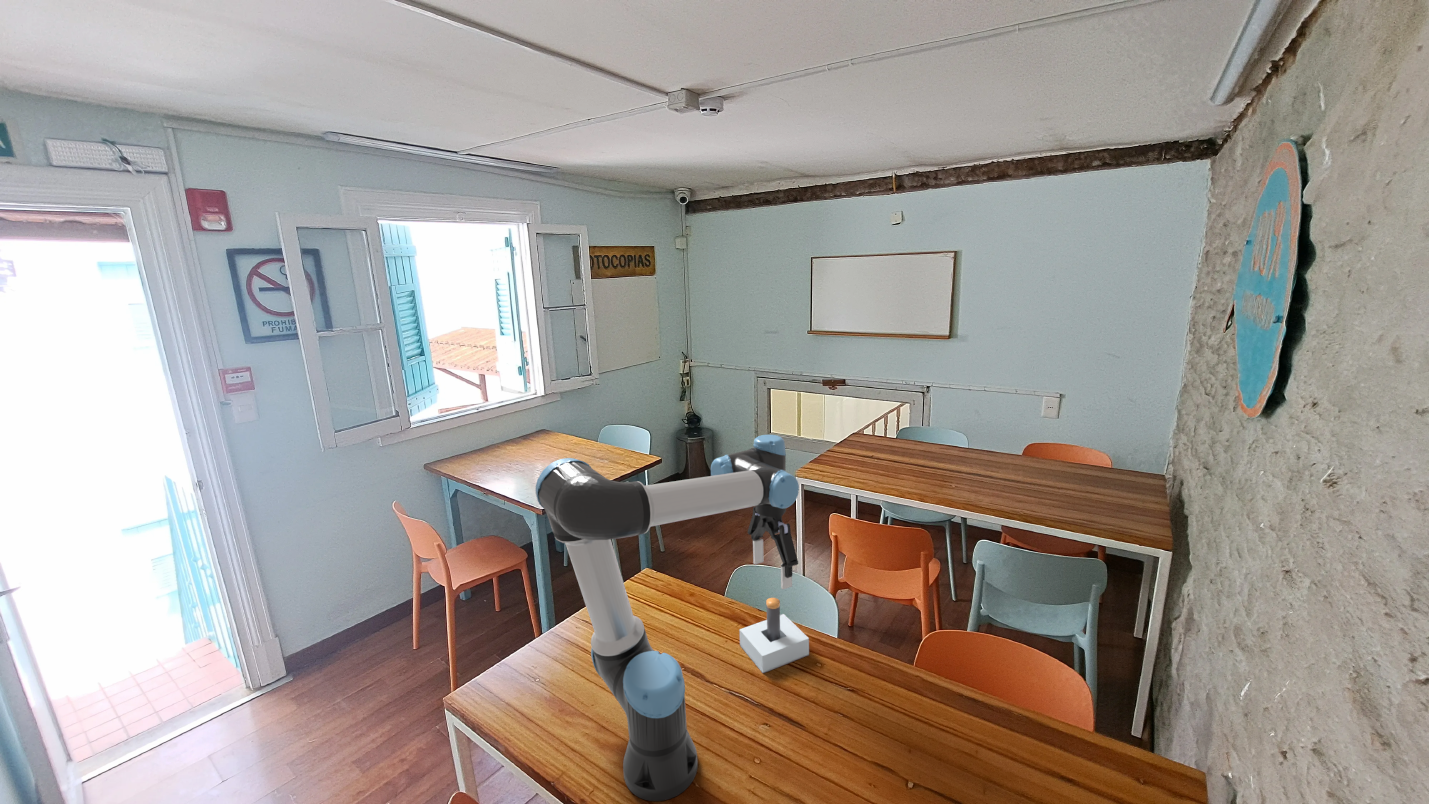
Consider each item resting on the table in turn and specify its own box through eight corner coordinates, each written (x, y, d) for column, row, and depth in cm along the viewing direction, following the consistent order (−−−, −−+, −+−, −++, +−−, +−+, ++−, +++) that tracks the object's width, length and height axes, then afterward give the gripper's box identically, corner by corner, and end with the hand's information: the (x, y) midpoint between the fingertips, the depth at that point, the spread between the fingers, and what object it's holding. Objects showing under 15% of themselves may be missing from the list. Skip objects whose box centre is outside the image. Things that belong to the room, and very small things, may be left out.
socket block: (808, 654, 143) (808, 638, 142) (762, 673, 137) (762, 656, 136) (783, 629, 153) (783, 613, 152) (740, 645, 148) (739, 629, 146)
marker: (783, 650, 144) (782, 603, 141) (771, 654, 143) (770, 606, 140) (776, 642, 147) (775, 596, 144) (764, 646, 146) (763, 600, 143)
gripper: (812, 512, 126) (812, 594, 131) (758, 478, 148) (759, 550, 153) (785, 519, 123) (786, 603, 127) (733, 483, 145) (736, 556, 149)
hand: (771, 574), depth 140 cm, fingers open, 13 cm apart
